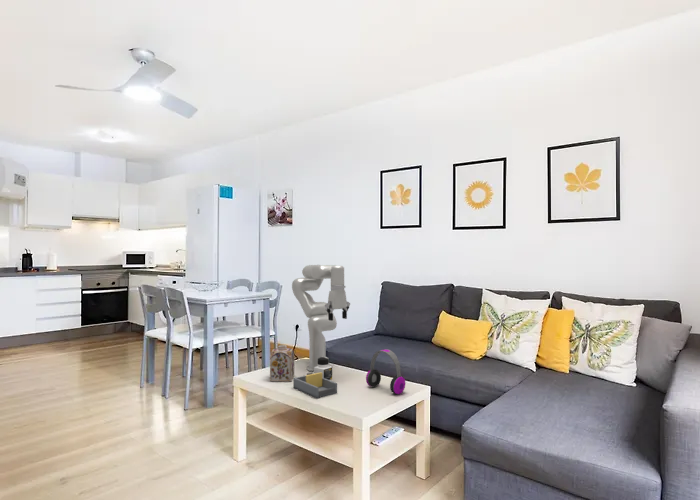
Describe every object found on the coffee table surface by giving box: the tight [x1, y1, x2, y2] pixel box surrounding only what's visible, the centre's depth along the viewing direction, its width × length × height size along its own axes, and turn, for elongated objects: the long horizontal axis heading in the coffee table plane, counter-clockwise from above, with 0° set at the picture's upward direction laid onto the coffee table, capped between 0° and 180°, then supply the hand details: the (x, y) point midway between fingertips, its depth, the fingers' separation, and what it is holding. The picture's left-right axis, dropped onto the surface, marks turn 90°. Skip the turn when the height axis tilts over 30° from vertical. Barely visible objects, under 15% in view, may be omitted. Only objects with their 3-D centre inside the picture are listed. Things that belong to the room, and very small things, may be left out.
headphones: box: [365, 348, 407, 395], centre depth 214 cm, size 21×9×20 cm, turn 45°
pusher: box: [305, 372, 322, 387], centre depth 215 cm, size 5×9×7 cm, turn 129°
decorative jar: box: [269, 344, 295, 383], centre depth 234 cm, size 12×12×18 cm
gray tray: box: [292, 375, 338, 399], centre depth 213 cm, size 21×12×5 cm, turn 39°
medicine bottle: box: [313, 356, 333, 381], centre depth 232 cm, size 7×7×12 cm
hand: (337, 319), depth 234 cm, fingers open, 9 cm apart
